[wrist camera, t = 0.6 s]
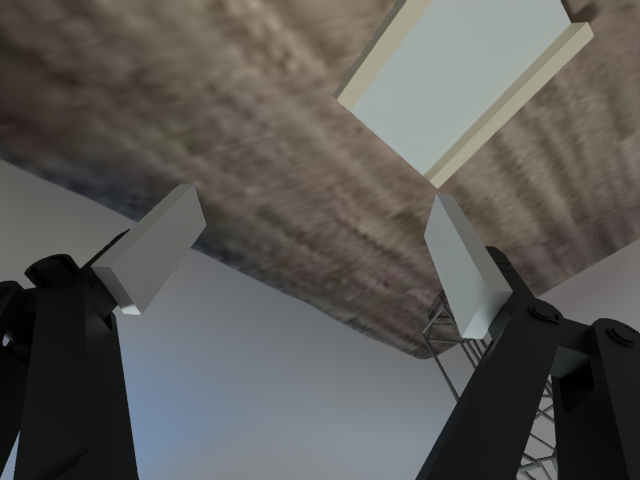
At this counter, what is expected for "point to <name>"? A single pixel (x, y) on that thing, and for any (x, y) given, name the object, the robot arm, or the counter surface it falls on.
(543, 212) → the counter surface
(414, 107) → the rail tray
